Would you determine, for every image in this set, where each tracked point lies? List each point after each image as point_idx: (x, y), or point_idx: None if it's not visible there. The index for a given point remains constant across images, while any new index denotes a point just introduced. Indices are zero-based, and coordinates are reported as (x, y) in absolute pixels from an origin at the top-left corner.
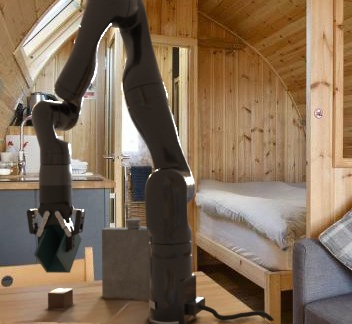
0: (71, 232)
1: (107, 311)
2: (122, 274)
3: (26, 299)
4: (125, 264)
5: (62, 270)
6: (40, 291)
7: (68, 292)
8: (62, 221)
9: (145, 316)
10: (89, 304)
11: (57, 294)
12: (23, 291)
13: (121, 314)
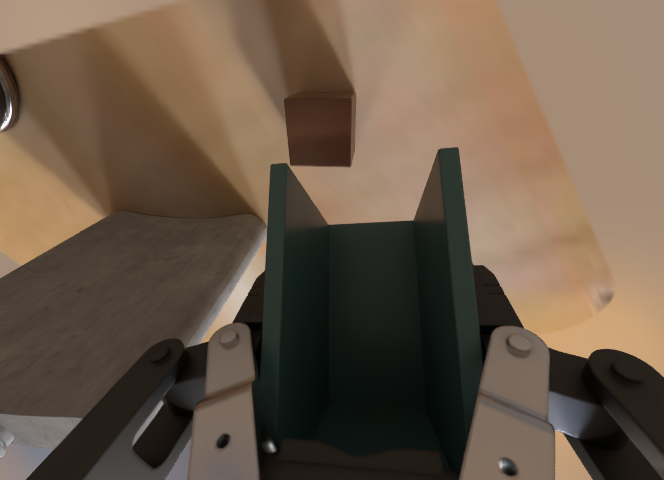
0: (210, 358)
1: (169, 112)
2: (165, 256)
3: (487, 186)
4: (131, 277)
5: (349, 229)
6: (476, 260)
7: (288, 134)
8: (213, 473)
9: (43, 86)
10: (262, 166)
11: (309, 97)
12: (533, 256)
13: (113, 91)
